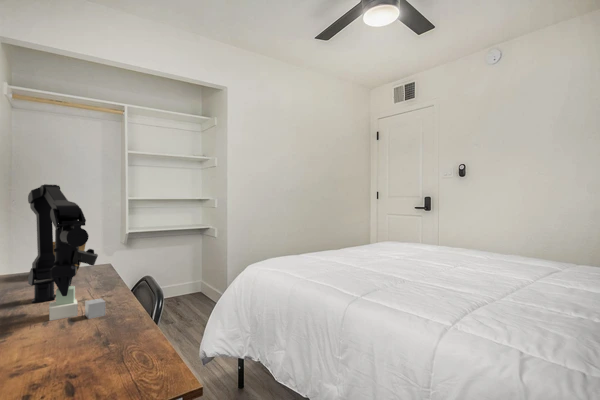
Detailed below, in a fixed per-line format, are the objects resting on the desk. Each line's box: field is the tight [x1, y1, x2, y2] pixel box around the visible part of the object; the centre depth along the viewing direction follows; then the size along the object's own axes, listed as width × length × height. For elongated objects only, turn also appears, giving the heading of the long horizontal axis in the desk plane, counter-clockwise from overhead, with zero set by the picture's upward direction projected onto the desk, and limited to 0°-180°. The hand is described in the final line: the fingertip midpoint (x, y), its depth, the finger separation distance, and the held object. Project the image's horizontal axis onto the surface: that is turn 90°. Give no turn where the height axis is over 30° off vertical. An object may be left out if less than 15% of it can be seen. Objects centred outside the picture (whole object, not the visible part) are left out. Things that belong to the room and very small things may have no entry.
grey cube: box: [84, 297, 106, 320], centre depth 102 cm, size 4×4×4 cm
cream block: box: [48, 298, 79, 322], centre depth 102 cm, size 7×7×4 cm
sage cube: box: [55, 285, 76, 305], centre depth 103 cm, size 4×4×4 cm
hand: (66, 292), depth 103 cm, fingers open, 8 cm apart
